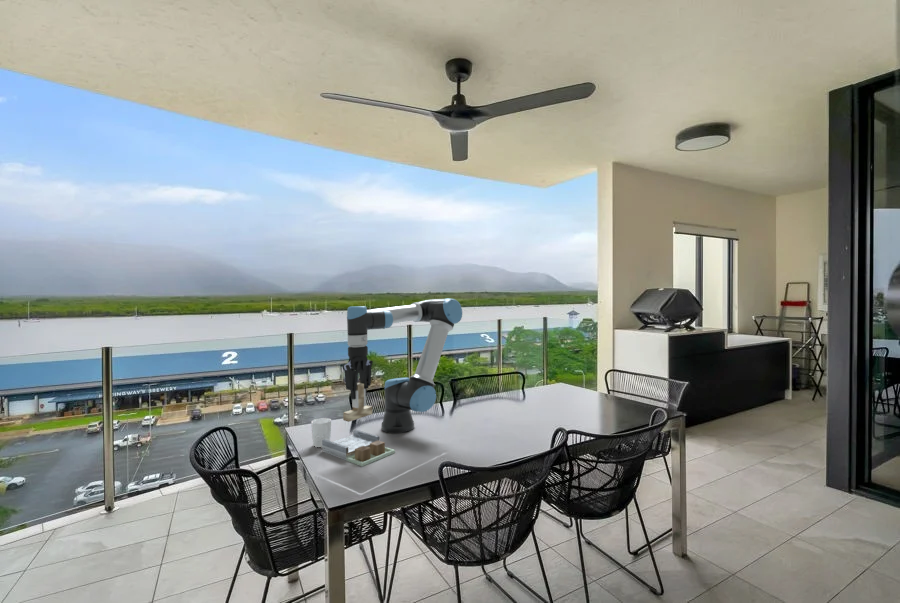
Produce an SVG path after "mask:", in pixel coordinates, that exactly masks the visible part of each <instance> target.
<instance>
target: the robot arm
mask: <svg viewBox="0 0 900 603" xmlns="http://www.w3.org/2000/svg"><path fill="white" fill-rule="evenodd" d="M462 317H463V308H462V305H461V303H460V302H459V300H457V299H455V298H450V297H448V298H431V299H425V300H421V301H416V302H412V303H411V304H408V305H407V304H406V305H399V306H398V305H397V306H391V307H381V308H372V309H370V308H369V309H367V306H366V305H363V306H361V305H360V306H359V305H358V306H349V307H347V311H346V321H347V322H346V324H347V326H346V327H347V329H346V330H347V346H348V347H347V355H348V362H347V363H346V364H342V368H343V371H344V380H345V389H346V390H347V391H350V399H351V403H352V404H351V406H352V407H351V408H353V407H354V408H359V405H358V391H357V390H356V389H357V383H358V377H359V383H363V384H364V406H366V405H367V401H366V400H367V399H366V398H367V395H368V394H367V393H368V392H367V389H369V387H370V386H371V385H372V366H373V363H374V362H373V360H369V359H368V357H367V356H368V355H369V350H368V349H369V348H368V346H367V345H368V330H381V329H382V330H385V329H389V328H390V327H392V325H393V324H397V323H404V322H410V321H411V322H412V321H413V322H414V323H419V322H423V323H424V322H425V323H429V324H430V329H429V331H428V334H427V338H426V340H425V344H424V345H423V349H422V352H421V355H420V358H419V361H418V364H417V367H416V369H415V372H414V374H413V375H411V376H410V377H397V378H396V377H395V378H391V379H387V380H386V381H385V382H384V389H383V390H384V415H383V418H382V419H383V420H382V422H381V425H380V426H381V427H380V428H381V431H382V432H385V433H389V434H390V433H391V434H402V433H406V432H410V431H412V430H413V429H414V428H415V421H414V419H413V416H412V413H411V411H413V412H417V413H425V412H427V411H430V409H431V408H432V407H433V406H434V405H435V403H436V400H437V394H436V393H437V392H436V389H435V383H434V377H435V374H436V372H437V368H438V366H439V362H440V358H441V355H442V353H443V350H444V346H445V343H446V341H447V337H448V334H449V332H450V331H453V329H454V327H455V325H456V324H457V323H460V321H461V320H462V319H463V318H462ZM401 432H402V433H401Z"/></svg>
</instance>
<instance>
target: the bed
mask: <svg viewBox="0 0 900 603" xmlns="http://www.w3.org/2000/svg"><path fill="white" fill-rule="evenodd" d="M352 432H353V434H351V435H348V436H345V437H342V438H340V439H336V440H334V441H332V440H330V441H328V440H325V439H324V440H322V447H321V448H322V452H323V453H326V454H328V455H330V456H333V457H336V458H339V459H340V460H344V461H346V458H347V457H349V456H352V455H354V454H355V449H356V448H359V447H361V446H366V447H369V448H370V443H372V442H375V441H380V436H379V435H376V434H373V433H368V432H366V431H363V430H359V429H353V430H352Z"/></svg>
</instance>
